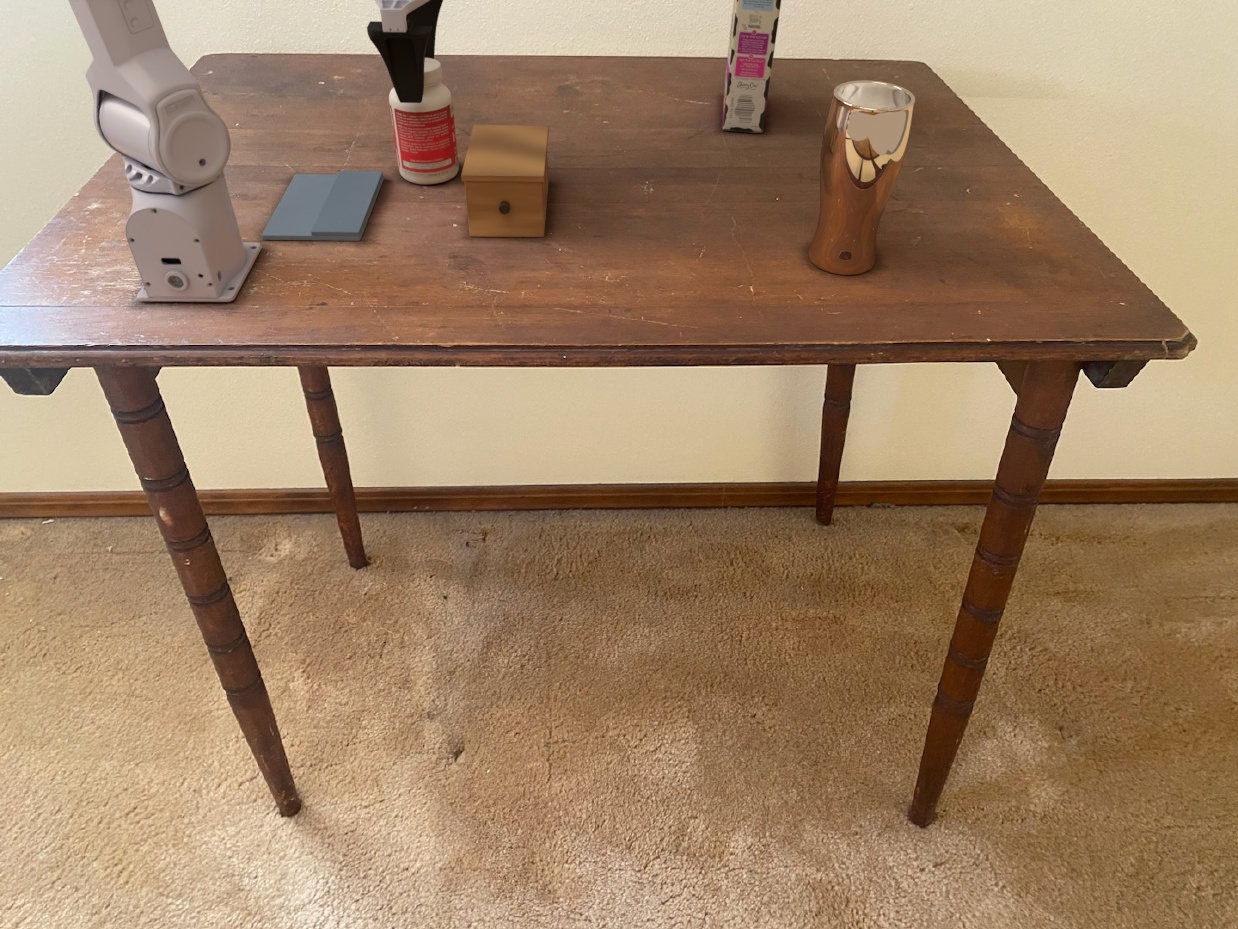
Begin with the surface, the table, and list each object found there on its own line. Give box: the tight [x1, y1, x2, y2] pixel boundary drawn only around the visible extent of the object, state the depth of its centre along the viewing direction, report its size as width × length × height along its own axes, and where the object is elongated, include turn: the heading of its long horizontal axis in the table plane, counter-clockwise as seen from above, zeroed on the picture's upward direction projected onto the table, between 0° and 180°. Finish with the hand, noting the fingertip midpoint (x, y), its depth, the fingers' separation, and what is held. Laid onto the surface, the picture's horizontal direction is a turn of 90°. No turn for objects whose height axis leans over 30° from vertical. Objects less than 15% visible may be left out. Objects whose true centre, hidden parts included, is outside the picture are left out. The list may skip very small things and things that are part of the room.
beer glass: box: [807, 79, 916, 276], centre depth 81 cm, size 7×7×15 cm
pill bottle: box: [388, 58, 460, 185], centre depth 94 cm, size 6×6×11 cm
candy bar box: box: [722, 0, 782, 134], centre depth 105 cm, size 11×5×16 cm, turn 175°
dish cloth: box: [261, 170, 385, 242], centre depth 91 cm, size 13×9×1 cm
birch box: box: [460, 124, 550, 238], centre depth 89 cm, size 12×7×6 cm, turn 1°
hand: (416, 86), depth 91 cm, fingers open, 7 cm apart
